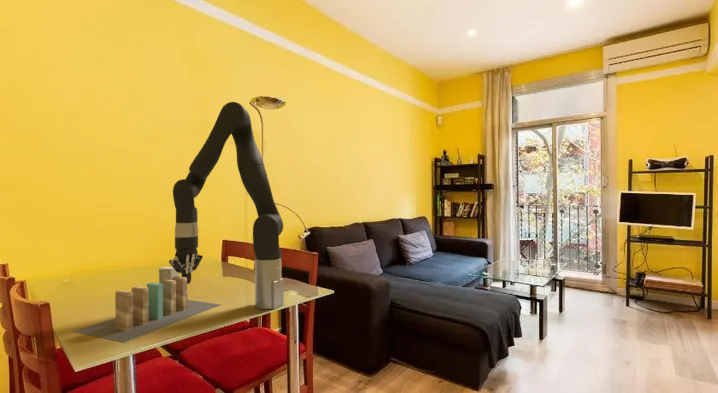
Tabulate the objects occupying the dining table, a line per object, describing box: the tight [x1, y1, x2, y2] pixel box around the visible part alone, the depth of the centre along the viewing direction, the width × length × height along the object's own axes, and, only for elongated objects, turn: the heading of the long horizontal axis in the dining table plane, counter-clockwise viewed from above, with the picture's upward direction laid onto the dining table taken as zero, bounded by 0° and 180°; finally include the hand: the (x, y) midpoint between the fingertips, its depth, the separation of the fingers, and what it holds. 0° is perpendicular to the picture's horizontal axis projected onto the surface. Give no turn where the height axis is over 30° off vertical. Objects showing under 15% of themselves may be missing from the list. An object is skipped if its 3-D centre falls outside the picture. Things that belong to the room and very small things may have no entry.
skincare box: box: [158, 265, 180, 283], centre depth 137 cm, size 6×4×12 cm
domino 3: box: [146, 282, 163, 320], centre depth 113 cm, size 2×5×11 cm, turn 69°
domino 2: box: [131, 285, 149, 325], centre depth 109 cm, size 2×5×11 cm, turn 69°
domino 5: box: [172, 276, 189, 310], centre depth 122 cm, size 2×5×11 cm, turn 69°
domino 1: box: [114, 289, 133, 331], centre depth 104 cm, size 2×5×11 cm, turn 69°
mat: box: [71, 299, 222, 344], centre depth 114 cm, size 22×36×1 cm, turn 159°
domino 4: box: [160, 279, 176, 315], centre depth 118 cm, size 2×5×11 cm, turn 69°
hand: (186, 283), depth 125 cm, fingers closed
